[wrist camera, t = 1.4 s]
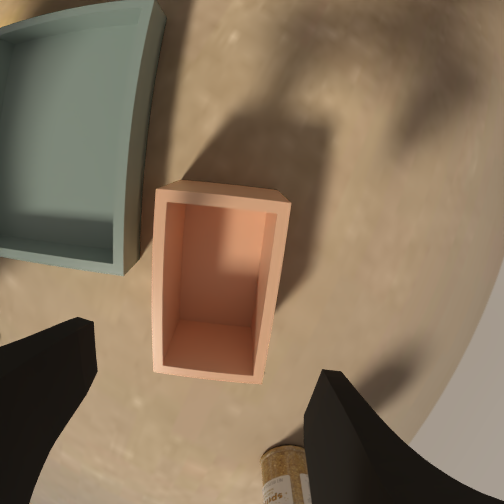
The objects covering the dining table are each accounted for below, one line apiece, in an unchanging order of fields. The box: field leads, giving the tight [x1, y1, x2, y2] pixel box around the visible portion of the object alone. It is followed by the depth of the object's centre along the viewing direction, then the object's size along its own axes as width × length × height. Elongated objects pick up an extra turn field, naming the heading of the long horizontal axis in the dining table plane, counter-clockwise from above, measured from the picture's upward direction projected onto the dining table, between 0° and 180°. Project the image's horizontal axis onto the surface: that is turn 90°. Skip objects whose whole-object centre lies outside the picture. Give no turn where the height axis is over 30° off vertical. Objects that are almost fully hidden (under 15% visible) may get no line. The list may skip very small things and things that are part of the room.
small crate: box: [152, 180, 291, 384], centre depth 17 cm, size 6×9×6 cm, turn 173°
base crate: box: [0, 0, 167, 276], centre depth 15 cm, size 12×15×3 cm
